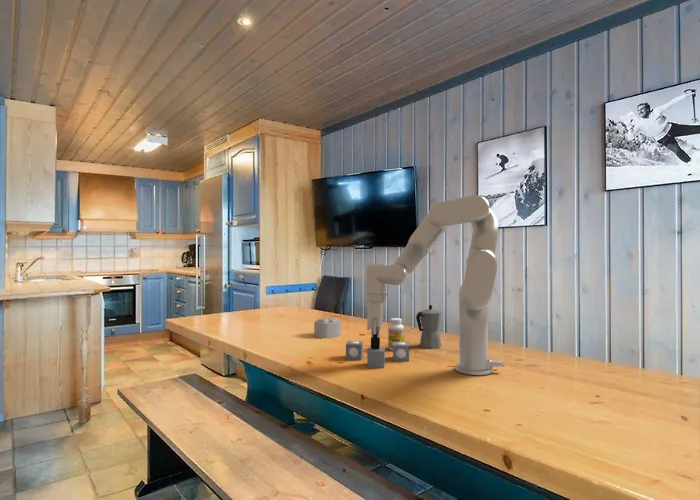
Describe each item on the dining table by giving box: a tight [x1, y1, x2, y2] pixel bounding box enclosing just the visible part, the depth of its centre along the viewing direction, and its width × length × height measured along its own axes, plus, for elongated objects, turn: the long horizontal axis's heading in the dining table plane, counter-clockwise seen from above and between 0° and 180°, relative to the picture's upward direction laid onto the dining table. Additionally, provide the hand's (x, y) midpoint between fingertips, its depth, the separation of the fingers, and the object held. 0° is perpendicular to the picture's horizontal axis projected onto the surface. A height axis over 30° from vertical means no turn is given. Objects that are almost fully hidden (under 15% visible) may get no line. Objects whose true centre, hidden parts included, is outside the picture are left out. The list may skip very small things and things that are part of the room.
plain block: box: [366, 346, 386, 369], centre depth 156 cm, size 6×6×6 cm
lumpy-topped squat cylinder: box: [313, 316, 342, 339], centre depth 210 cm, size 10×13×9 cm
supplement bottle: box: [387, 317, 405, 351], centre depth 181 cm, size 7×7×13 cm
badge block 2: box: [392, 341, 410, 362], centre depth 165 cm, size 6×6×6 cm
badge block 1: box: [345, 340, 364, 361], centre depth 167 cm, size 6×6×6 cm
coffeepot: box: [415, 304, 442, 350], centre depth 185 cm, size 15×9×18 cm, turn 129°
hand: (375, 348), depth 156 cm, fingers closed
